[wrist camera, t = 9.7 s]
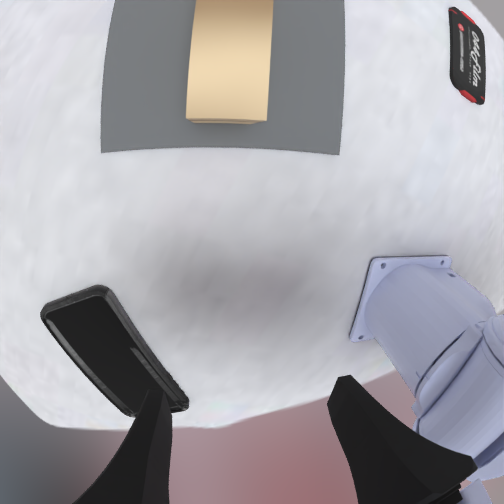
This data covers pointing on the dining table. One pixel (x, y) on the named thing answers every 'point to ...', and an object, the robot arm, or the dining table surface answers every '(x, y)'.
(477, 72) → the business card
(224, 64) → the oak domino
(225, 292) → the dining table surface
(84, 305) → the phone
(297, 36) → the rubber mat
